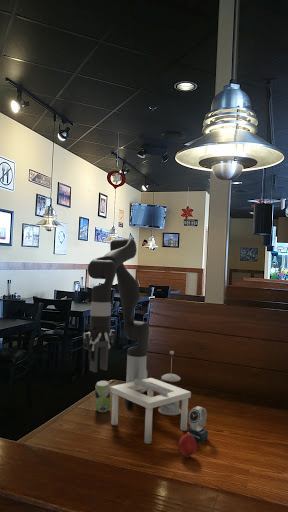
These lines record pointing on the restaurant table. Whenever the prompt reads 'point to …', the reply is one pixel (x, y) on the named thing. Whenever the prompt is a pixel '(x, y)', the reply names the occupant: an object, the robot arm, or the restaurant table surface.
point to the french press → (174, 406)
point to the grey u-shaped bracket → (102, 356)
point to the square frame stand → (150, 400)
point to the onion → (187, 445)
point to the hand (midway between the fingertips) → (98, 359)
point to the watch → (198, 418)
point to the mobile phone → (129, 403)
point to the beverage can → (102, 396)
